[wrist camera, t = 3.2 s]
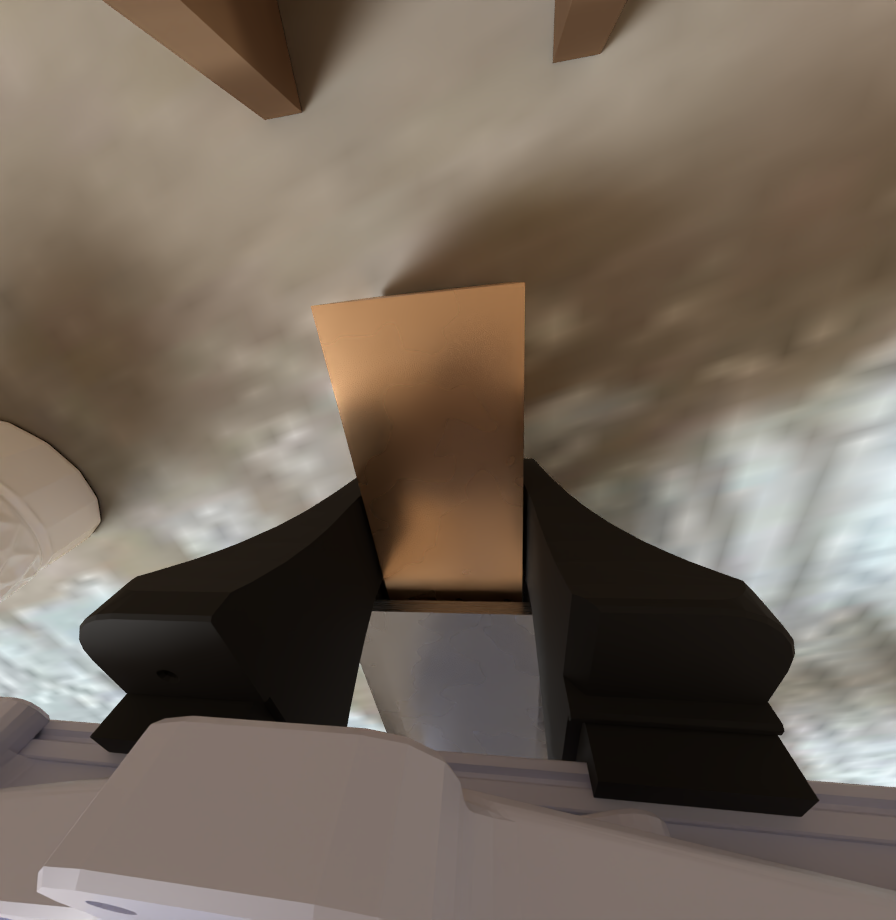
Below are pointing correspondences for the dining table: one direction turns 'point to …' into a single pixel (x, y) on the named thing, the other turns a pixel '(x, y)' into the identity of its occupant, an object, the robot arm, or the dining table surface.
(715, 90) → the dining table surface
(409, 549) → the tan wooden bar
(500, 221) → the dining table surface
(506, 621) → the sleeve
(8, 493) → the white cup
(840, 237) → the dining table surface
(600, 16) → the socket
